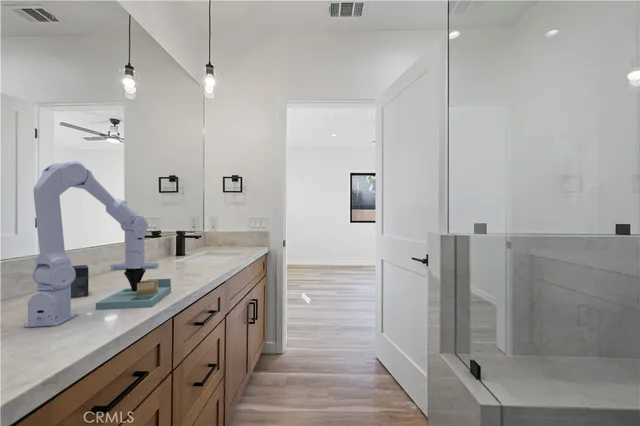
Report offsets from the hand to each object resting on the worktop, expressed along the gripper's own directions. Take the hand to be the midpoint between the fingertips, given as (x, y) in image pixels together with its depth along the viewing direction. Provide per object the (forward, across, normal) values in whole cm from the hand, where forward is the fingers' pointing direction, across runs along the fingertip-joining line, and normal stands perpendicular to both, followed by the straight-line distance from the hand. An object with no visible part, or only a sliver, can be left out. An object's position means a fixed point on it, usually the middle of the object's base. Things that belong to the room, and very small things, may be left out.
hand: (135, 291), depth 110 cm
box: (+3, +23, -11) cm, 26 cm away
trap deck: (+3, 0, 0) cm, 3 cm away
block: (+1, -4, 0) cm, 4 cm away
